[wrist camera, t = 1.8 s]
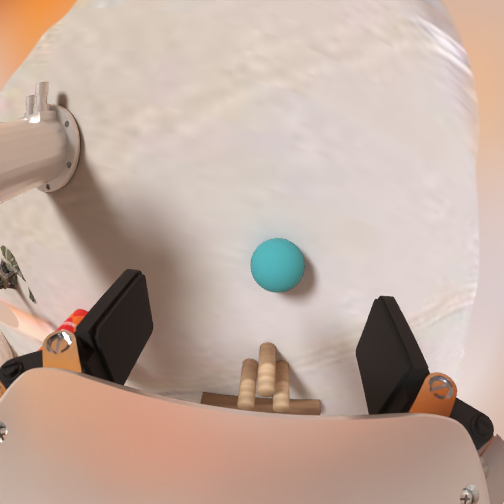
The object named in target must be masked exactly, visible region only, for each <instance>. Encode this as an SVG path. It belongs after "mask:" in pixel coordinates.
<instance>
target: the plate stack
mask: <svg viewBox="0 0 504 504" xmlns="http://www.w3.org/2000/svg"><path fill="white" fill-rule="evenodd" d="M10 359H13V355H12V352H11V349H10V347H9V345H8V343H7V341H6V339H5V337H4V335H3V334H2V332H1V330H0V367H1V366H2V365H3V363H5V362H6V361H8V360H10Z"/></svg>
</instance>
